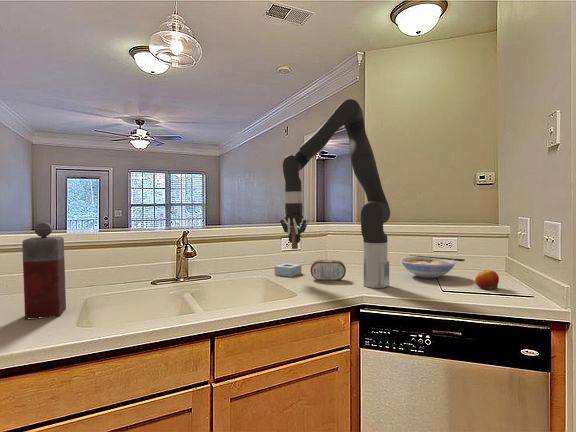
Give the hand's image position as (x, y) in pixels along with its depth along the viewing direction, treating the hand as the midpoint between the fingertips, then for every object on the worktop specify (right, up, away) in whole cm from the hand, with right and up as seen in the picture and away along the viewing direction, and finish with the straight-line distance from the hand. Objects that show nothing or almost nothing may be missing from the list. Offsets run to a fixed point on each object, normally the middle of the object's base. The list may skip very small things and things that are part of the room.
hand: (294, 242), depth 159 cm
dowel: (0, -3, 0) cm, 3 cm away
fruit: (+72, -16, -19) cm, 77 cm away
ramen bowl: (+58, -15, +2) cm, 60 cm away
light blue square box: (-3, -16, +13) cm, 20 cm away
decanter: (-77, -19, -45) cm, 91 cm away
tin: (+14, -16, -2) cm, 22 cm away
